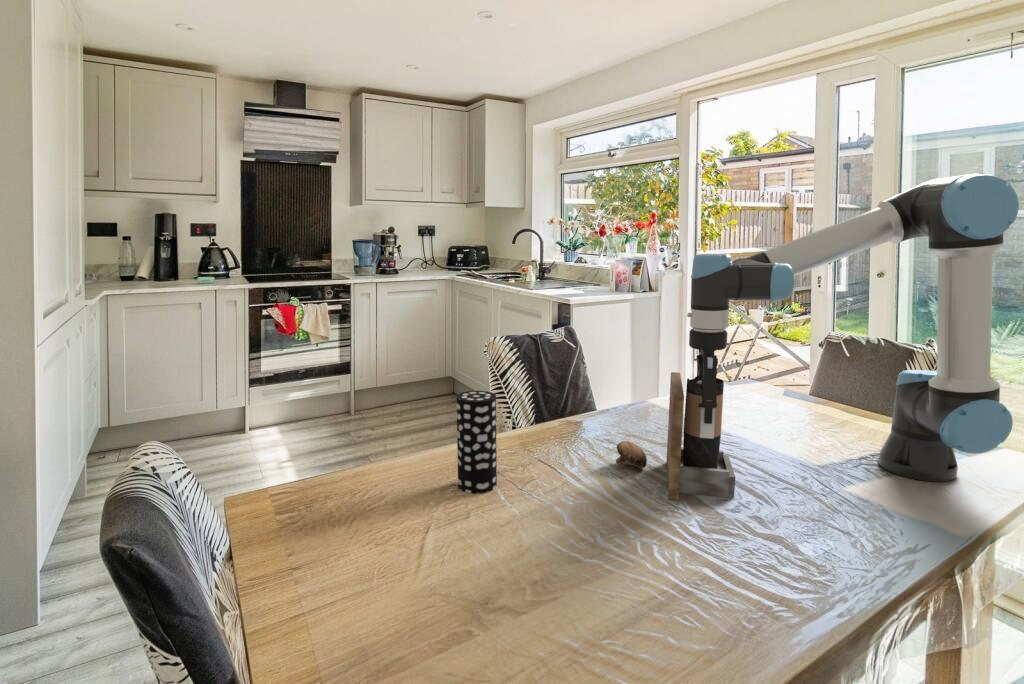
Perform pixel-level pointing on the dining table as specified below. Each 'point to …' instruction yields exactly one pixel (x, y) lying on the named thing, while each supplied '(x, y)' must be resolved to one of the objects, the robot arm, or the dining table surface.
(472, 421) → the white-spotted black cylinder
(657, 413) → the dining table surface
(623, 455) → the mushroom
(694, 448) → the travel mug
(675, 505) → the dining table surface
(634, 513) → the dining table surface
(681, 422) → the l-shaped stand
